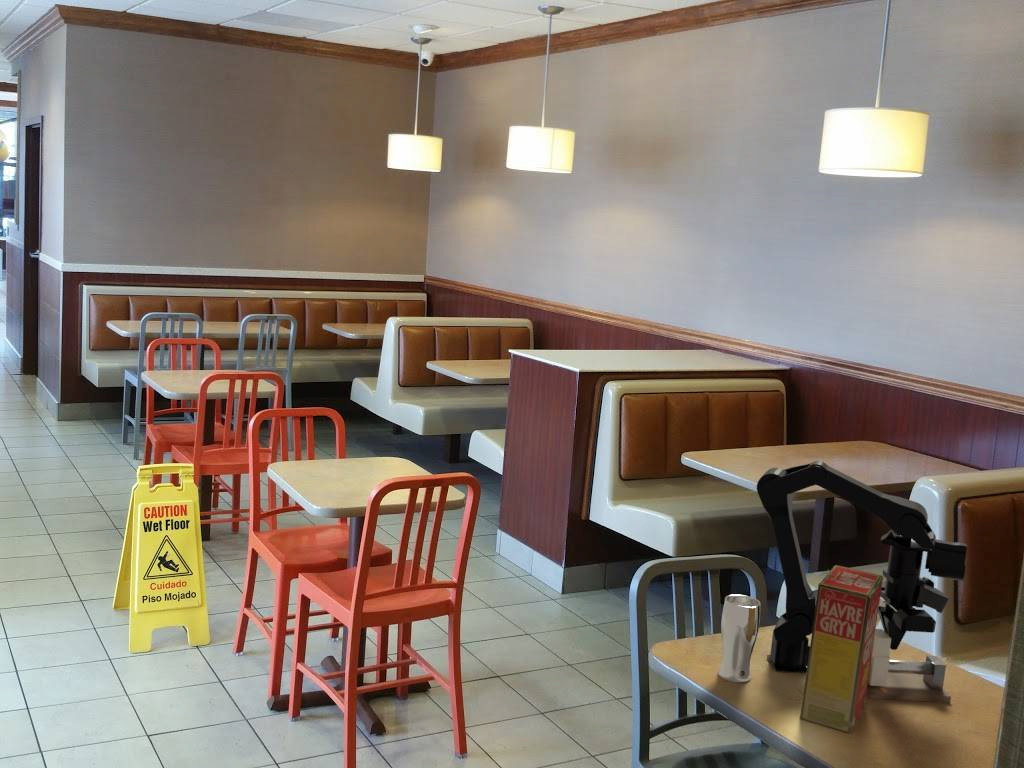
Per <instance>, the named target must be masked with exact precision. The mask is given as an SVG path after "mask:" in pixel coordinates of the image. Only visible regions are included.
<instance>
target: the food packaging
mask: <svg viewBox="0 0 1024 768" xmlns="http://www.w3.org/2000/svg"><path fill="white" fill-rule="evenodd" d="M884 578H885V577H884V576H883V575H880V574H876V573H872V572H868V571H862V570H858V569H855V568H850V567H846V566H841V565H836V564H835V565H834V566H832V567H831V570H829V572H827V574H826V575H825V576H824V577H823V578H822V580H821V582H819V583H818V586H817V587H818V588H817V589H818V594H817V600H816V608H815V615H814V623H813V630H812V634H811V638H810V644H809V646H810V650H809V657H808V665H807V666H806V667H807V672H806V673H805V674H806V675H805V680H804V689H803V694H802V695H803V696H802V703H801V708H800V716H799V719H800V720H803V721H807V722H810V723H814V724H816V725H820V726H824V727H826V728H830V729H834V730H837V731H840V732H845V733H848V734H852V732H853V730H854V729H855V727H856V725H857V723H858V722H859V720H860V717H861V716H862V713H863V711H864V710H865V707H866V699H867V698H866V693H867V686H868V678H869V671H870V664H871V657H872V650H873V643H874V636H875V629H877V623H878V622H877V621H878V620H877V619H878V616H879V614H878V608H879V606H880V602H881V600H880V597H881V596H880V595H881V588H882V582H884Z"/></svg>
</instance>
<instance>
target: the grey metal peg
mask: <svg viewBox="0 0 1024 768" xmlns="http://www.w3.org/2000/svg"><path fill="white" fill-rule="evenodd" d="M946 667H947V664H946V663H944V661H943V660H942V659H941V658H940V657H938V656H937V655H926V657H925V661H919V660H904V659H903V660H902V659H900V660H899V659H890V663H889V670H888V673H902V674H920V675H924V677H923V681H924V682H925V683H926V684H927V685H928V686H929V687H930V688H931V689H932V690H943V689H944V682H945V675H946ZM869 672H870V671H869Z"/></svg>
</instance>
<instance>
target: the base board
mask: <svg viewBox="0 0 1024 768" xmlns="http://www.w3.org/2000/svg"><path fill="white" fill-rule="evenodd" d="M923 677H924V675H920V674H902V673H888V677H887V684H886V686H870V684H869V683H868V686H867V693H866V699H879V700H897V701H898V700H899V701H915V702H916V701H917V702H931V703H932V702H936V703H951V699H952V696H951V695H950V694H949V693H948V691H946V690H945V688H943V690H932V689H931V688H930V687H929V686H928V685H927V684H926V683H925V682H924V681H923Z"/></svg>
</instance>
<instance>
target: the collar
mask: <svg viewBox="0 0 1024 768" xmlns="http://www.w3.org/2000/svg"><path fill="white" fill-rule="evenodd" d="M890 645H891V638H890V637H889V636H888V635H887V634H886V633H885V631H884V629H882V628H876V629H875V636H874V643H873V650H872V657H871V664H870V672H869V678H868V683H869V684H870V686H886V684H887V677H888V670H889V663H890V660H891V657H890V651H891V649H890Z"/></svg>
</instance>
